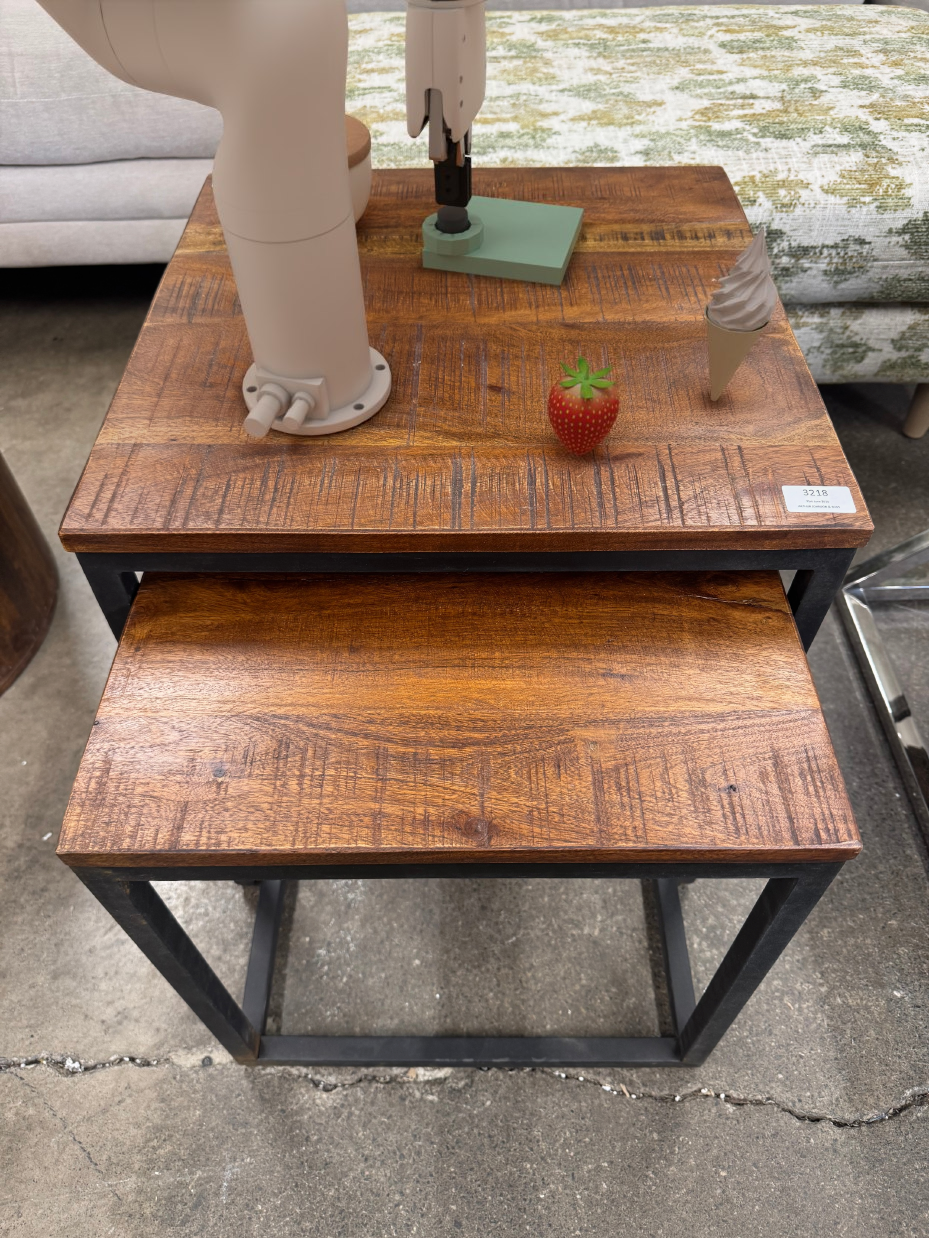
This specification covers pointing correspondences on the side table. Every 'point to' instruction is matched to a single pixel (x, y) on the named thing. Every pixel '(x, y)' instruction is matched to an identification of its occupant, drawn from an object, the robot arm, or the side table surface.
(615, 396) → the fruit
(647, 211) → the side table surface
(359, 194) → the lidded bowl
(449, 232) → the button
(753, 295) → the ice cream cone
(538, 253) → the scale
